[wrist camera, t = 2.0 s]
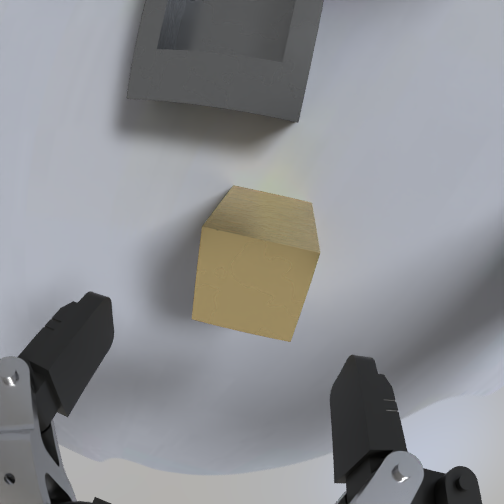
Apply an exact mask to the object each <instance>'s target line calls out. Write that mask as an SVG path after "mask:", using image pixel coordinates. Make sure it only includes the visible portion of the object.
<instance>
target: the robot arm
mask: <svg viewBox="0 0 504 504" xmlns="http://www.w3.org/2000/svg"><path fill="white" fill-rule="evenodd" d="M113 338H114V326H113V315H112V303H111V299H110V298H109V297H106V296H103V295H99V294H96V293H93V292H88V293H86V294H85V295H84V297H83V298H82V299H81V300H80V301H79V302H78V303H76V302H74V301H73V302H71V303H69V304H68V305H66V306H64V307H62V308H60V310H59V311H58V312H57V313H56V314H55V315H54V316H53V317H52V320H49V322H48V323H47V324H46V325H45V328H44V327H43V328H42V329H41V331H40V332H39V333H38V334H37V335H36V336H35V337H34V339H33V340H32V341H31V342H30V343H29V344H28V346H27V347H26V348H25V349H24V350H23V351H22V353H21V354H20V355H19V356H18V357H13V356H9V357H4V358H2V359H0V504H111V503H108V502H106V501H103V500H101V499H99V498H96V497H95V498H94V501H93V503H90V502H82V501H77V500H76V498H75V494H74V492H73V489H72V486H71V484H70V482H69V479H68V478H67V475H66V473H65V470H64V467H63V464H62V459H61V455H60V451H59V446H58V441H57V436H56V431H55V426H54V421H53V418H54V416H55V414H56V413H57V412H58V413H60V414H62V415H64V416H66V417H68V416H69V414H70V413H71V411H72V409H73V407H74V406H75V404H76V402H77V401H78V399H79V397H80V396H81V394H82V392H83V391H84V389H85V387H86V386H87V384H88V382H89V381H90V379H91V378H92V376H93V374H94V373H95V371H96V370H97V368H98V366H99V365H100V363H101V362H102V360H103V358H104V357H105V355H106V354H107V352H108V351H109V349H110V347H111V345H112V342H113ZM330 409H331V423H332V440H333V459H334V483H346V488H347V489H346V490H347V491H346V492H344V493H343V494H342V496H341V497H340V498H339V499H338V501H337V502H336V503H335V504H482V500H481V495H480V490H479V485H478V481H477V478H476V476H475V474H474V473H473V472H472V471H471V470H470V469H468V468H467V467H463V466H457V467H454V468H453V469H451V470H450V471H449V472H447V473H446V474H444V473H440V472H436V471H431V470H427V469H424V468H423V466H422V464H421V462H420V461H419V459H418V458H417V457H416V456H414V455H413V454H411V453H409V452H408V451H407V448H406V443H405V439H404V434H403V430H402V425H401V421H400V417H399V412H397V410H398V408H397V404H396V402H395V396H394V393H393V389H392V386H391V385H390V383H389V382H388V380H387V379H386V377H385V376H384V375H382V374H378V373H377V369H376V365H375V361H374V359H373V358H370V357H363V356H356V355H351V356H349V358H348V359H347V361H346V363H345V365H344V366H343V368H342V370H341V372H340V374H339V375H338V377H337V379H336V381H335V382H334V384H333V387H332V390H331V394H330Z"/></svg>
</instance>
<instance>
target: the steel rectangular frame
mask: <svg viewBox="0 0 504 504" xmlns="http://www.w3.org/2000/svg"><path fill="white" fill-rule="evenodd" d="M323 2H324V0H146V2H145V6H144V10H143V14H142V18H141V23H140V27H139V32H138V36H137V41H136V46H135V51H134V56H133V62H132V67H131V73H130V79H129V85H128V92H127V99H143V100H157V101H168V102H178V103H187V104H196V105H203V106H211V107H218V108H225V109H231V110H237V111H243V112H249V113H254V114H260V115H265V116H270V117H275V118H280V119H284V120H289V121H293V122H299V117H300V112H301V108H302V103H303V99H304V94H305V89H306V84H307V80H308V75H309V70H310V65H311V61H312V56H313V51H314V46H315V41H316V36H317V31H318V27H319V22H320V17H321V12H322V7H323Z"/></svg>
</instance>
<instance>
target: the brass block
mask: <svg viewBox="0 0 504 504" xmlns="http://www.w3.org/2000/svg"><path fill="white" fill-rule="evenodd" d="M319 255H320V249H319V243H318V237H317V231H316V225H315V219H314V213H313V207H312V203H310V202H306V201H302V200H298V199H293V198H289V197H285V196H280V195H276V194H271V193H267V192H262V191H258V190H253V189H248V188H244V187H239V186H233V187H232V188H231V189H230V191H229V192H228V193H227V195H226V196H225V197H224V198H223V200H222V201H221V202H220V204H219V205H218V206H217V208H216V209H215V210H214V211H213V213H212V214H211V215H210V217H209V218H208V219H207V221H206V222H205V223H204V225H203V226H202V232H201V239H200V248H199V256H198V264H197V273H196V282H195V291H194V301H193V311H192V319H193V320H197V321H201V322H205V323H208V324H213V325H217V326H221V327H225V328H229V329H233V330H238V331H242V332H246V333H251V334H255V335H260V336H264V337H269V338H274V339H279V340H284V341H288V342H291V339H292V336H293V333H294V330H295V328H296V325H297V322H298V319H299V316H300V313H301V310H302V307H303V304H304V301H305V298H306V295H307V292H308V289H309V286H310V283H311V280H312V277H313V274H314V271H315V268H316V265H317V261H318V258H319Z"/></svg>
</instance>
